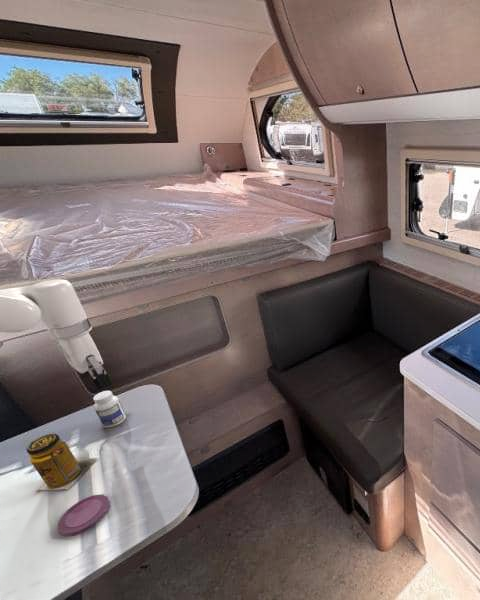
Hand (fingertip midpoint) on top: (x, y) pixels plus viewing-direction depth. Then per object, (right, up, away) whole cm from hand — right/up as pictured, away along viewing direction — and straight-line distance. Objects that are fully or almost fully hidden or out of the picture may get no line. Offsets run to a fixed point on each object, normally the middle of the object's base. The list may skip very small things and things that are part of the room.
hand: (97, 381), depth 89 cm
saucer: (+15, -25, -19) cm, 34 cm away
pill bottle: (0, -13, +6) cm, 15 cm away
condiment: (+2, -21, -10) cm, 23 cm away
